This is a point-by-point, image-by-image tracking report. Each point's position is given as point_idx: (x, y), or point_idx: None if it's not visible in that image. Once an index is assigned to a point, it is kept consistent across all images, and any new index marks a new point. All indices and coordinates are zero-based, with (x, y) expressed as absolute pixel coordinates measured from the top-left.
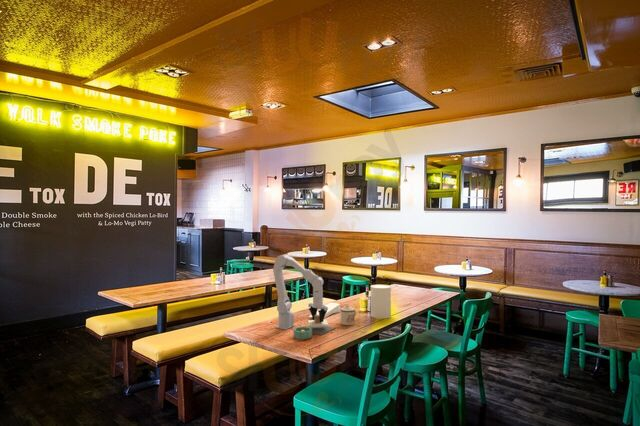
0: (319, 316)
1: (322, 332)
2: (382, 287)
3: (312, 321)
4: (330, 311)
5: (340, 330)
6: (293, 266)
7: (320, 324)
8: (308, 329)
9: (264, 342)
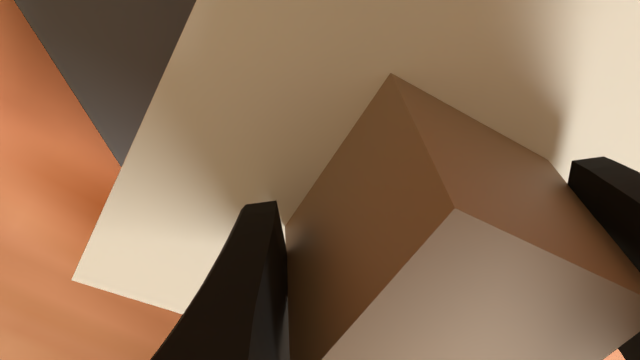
0: (335, 335)
1: (91, 30)
2: None
3: (592, 125)
4: None
5: (123, 341)
6: None
7: (168, 123)
8: None
9: None
